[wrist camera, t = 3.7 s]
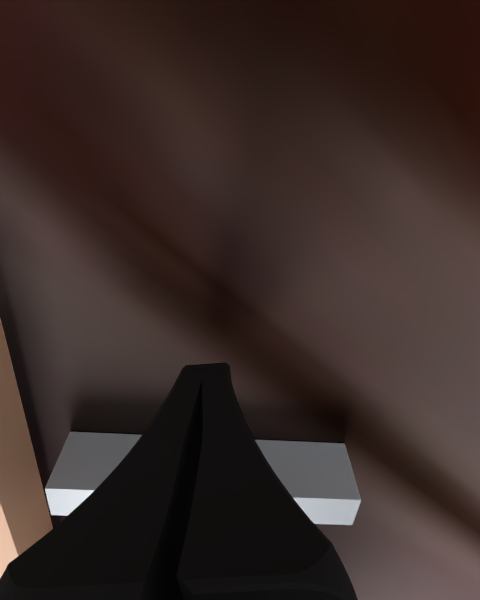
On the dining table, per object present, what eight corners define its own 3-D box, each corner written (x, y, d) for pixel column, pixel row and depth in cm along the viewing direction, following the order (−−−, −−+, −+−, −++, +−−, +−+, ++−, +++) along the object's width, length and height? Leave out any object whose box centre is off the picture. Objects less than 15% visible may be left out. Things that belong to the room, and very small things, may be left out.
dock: (305, 574, 22) (314, 631, 20) (94, 569, 21) (78, 626, 19) (344, 443, 17) (361, 499, 15) (69, 431, 16) (44, 488, 14)
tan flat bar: (76, 582, 21) (48, 674, 18) (48, 581, 21) (15, 674, 18) (13, 304, 13) (-59, 383, 10) (-33, 301, 13) (-121, 380, 10)
